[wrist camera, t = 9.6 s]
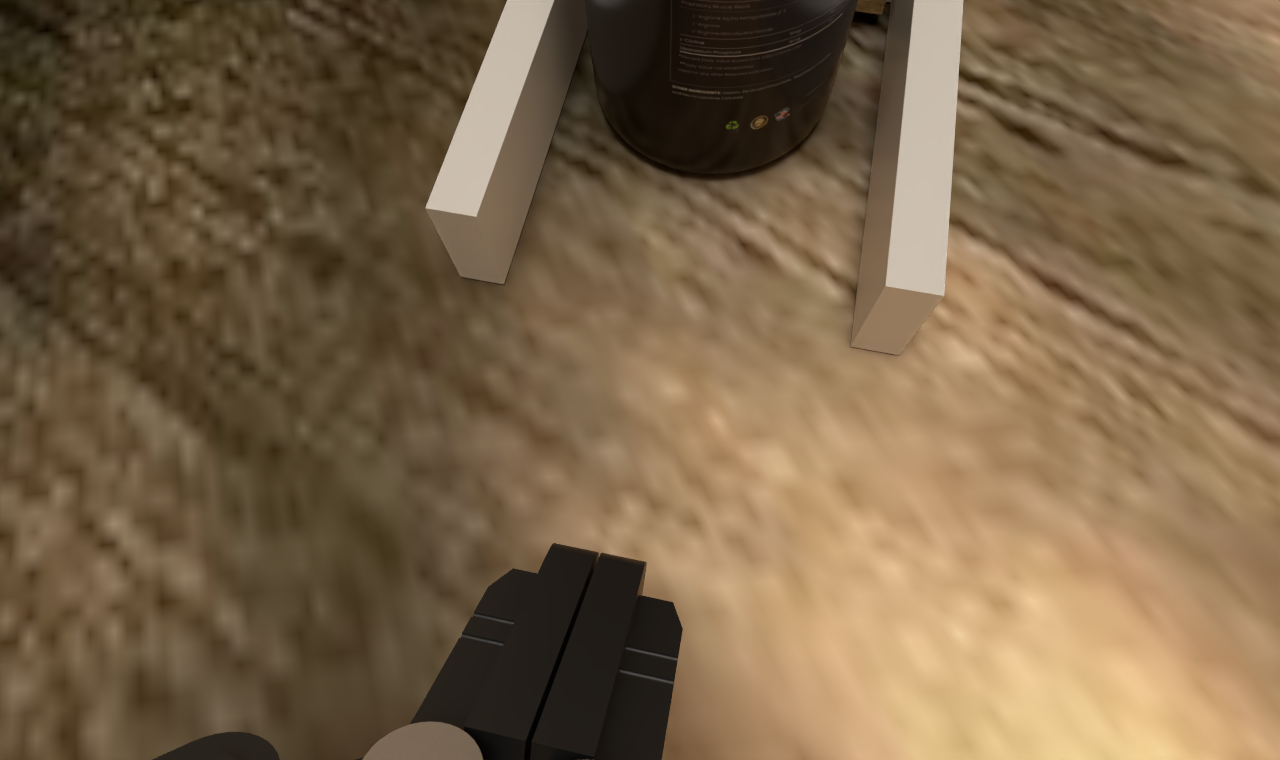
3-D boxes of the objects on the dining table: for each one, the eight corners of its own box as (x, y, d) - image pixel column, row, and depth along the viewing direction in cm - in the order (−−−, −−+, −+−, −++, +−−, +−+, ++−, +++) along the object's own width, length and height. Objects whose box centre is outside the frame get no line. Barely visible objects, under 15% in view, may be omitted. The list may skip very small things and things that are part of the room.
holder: (460, 276, 19) (365, 90, 13) (581, -64, 24) (554, -315, 18) (899, 355, 18) (1023, 190, 12) (932, -20, 22) (1032, -274, 16)
